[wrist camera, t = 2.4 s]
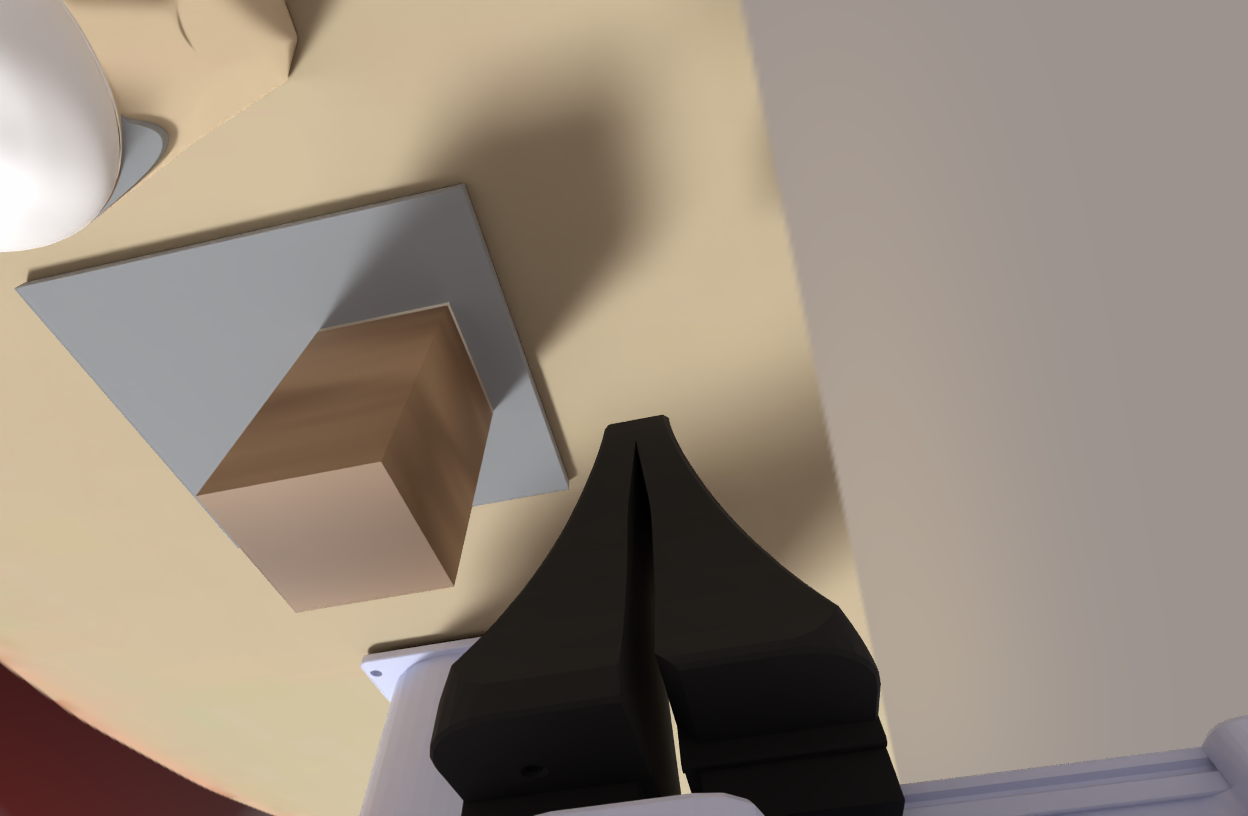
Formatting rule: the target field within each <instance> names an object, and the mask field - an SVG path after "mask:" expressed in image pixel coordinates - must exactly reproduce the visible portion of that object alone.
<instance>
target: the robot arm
mask: <svg viewBox="0 0 1248 816" xmlns="http://www.w3.org/2000/svg"><path fill="white" fill-rule="evenodd" d="M361 668H362V669H363V671H364V672H365V673H366V674H367V675H368V677H369V678H370V679H371V680H372V681H373V683H374V684H375V685H376V686H377V687H378V689H379V690H380V691H381V692H382V693H383V695H384V696H385V697H386V698H387V699H388V701H389V702H390V706H389V709H388V713H387V717H386V720H385V724H384V728H383V731H382V735H381V738H380V742H379V746H378V749H377V753H376V757H375V760H374V764H373V768H372V771H371V775H370V778H369V782H368V786H367V789H366V793H365V797H364V800H363V804H362V808H361V811H360V815H359V816H1248V715H1245V716H1240V717H1236V718H1231V719H1228V720H1225V721H1223V722H1221V723H1219V724H1217V725H1216V726H1214V727H1213V728H1212V729H1211V730H1210V731H1209V732H1208V734H1207V735H1206V737H1205V740H1204V742H1203V745H1202V747H1194V748H1187V749H1179V750H1171V751H1163V752H1155V753H1147V754H1139V755H1131V756H1123V757H1116V758H1107V759H1100V760H1091V761H1084V762H1076V763H1068V764H1060V765H1052V766H1044V767H1037V768H1028V769H1021V770H1012V771H1005V772H996V773H989V774H981V775H973V776H965V777H957V778H949V779H941V780H934V781H925V782H917V783H910V784H901V785H900V784H899V781H898V779H897V776H896V773H895V770H894V768H893V765H892V762H891V760H890V757H889V754H888V751H887V749H886V747H887V739H886V735H885V732H884V730H883V727H882V724H881V722H880V719H879V716H878V711H879V698H880V686H881V682H880V676H879V671H878V669H877V666H876V664H875V662H874V660H873V658H872V656H871V654H870V652H869V651H868V649H867V647H866V645H865V644H864V642H863V640H862V639H861V637H860V636H859V634H858V633H857V631H856V630H855V628H854V627H853V625H852V624H851V622H850V621H849V620H848V618H847V617H846V615H845V614H844V613H843V611H842V610H841V609H840V607H839V606H837V605H836V604H834V603H833V602H831V601H830V600H828V599H827V598H825V597H824V596H822V595H821V594H819V593H818V592H817V591H815V590H814V589H812V588H811V587H810V586H808V585H807V584H805V583H804V582H803V581H801V580H800V579H799V578H797V577H796V576H795V575H794V574H792V573H791V572H790V571H788V570H787V569H786V568H784V567H783V566H782V565H781V564H780V563H779V562H777V561H776V560H775V559H774V558H773V557H772V556H771V555H769V554H768V553H767V552H766V551H765V550H764V549H763V548H761V547H760V546H759V545H758V544H757V543H756V542H755V541H754V540H753V539H752V538H751V537H750V536H749V535H748V534H747V533H746V532H745V531H744V530H743V529H742V528H741V527H740V526H739V525H738V524H737V523H736V522H735V521H734V520H733V519H732V518H731V517H730V516H729V515H728V513H727V512H726V511H725V510H724V509H723V508H722V507H721V505H720V504H719V503H718V502H717V501H716V499H715V498H714V497H713V495H712V494H711V493H710V492H709V490H708V489H707V488H706V486H705V485H704V484H703V482H702V481H701V480H700V478H699V477H698V475H697V474H696V472H695V471H694V469H693V468H692V466H691V465H690V463H689V461H688V460H687V458H686V457H685V455H684V453H683V452H682V450H681V448H680V446H679V444H678V442H677V440H676V438H675V436H674V434H673V431H672V429H671V426H670V422H669V418H668V417H666V416H664V415H659V416H653V417H648V418H642V419H637V420H632V421H626V422H621V423H615V424H610V425H608V426H607V428H606V429H605V432H604V436H603V439H602V443H601V446H600V449H599V452H598V455H597V458H596V460H595V463H594V466H593V468H592V471H591V473H590V475H589V478H588V480H587V483H586V485H585V487H584V490H583V492H582V494H581V496H580V498H579V500H578V502H577V504H576V506H575V508H574V510H573V512H572V514H571V516H570V518H569V520H568V522H567V524H566V526H565V527H564V529H563V531H562V533H561V535H560V536H559V538H558V540H557V541H556V543H555V544H554V546H553V548H552V549H551V551H550V552H549V554H548V555H547V557H546V558H545V560H544V561H543V563H542V564H541V566H540V567H539V568H538V570H537V571H536V573H535V574H534V576H533V577H532V578H531V580H530V581H529V582H528V584H527V585H526V586H525V588H524V589H523V590H522V591H521V593H520V594H519V595H518V596H517V597H516V599H515V600H514V601H513V602H512V603H511V604H510V606H509V607H508V608H507V609H506V610H505V612H504V613H503V614H502V615H501V616H500V617H499V619H498V620H497V621H496V622H495V623H494V624H493V625H492V626H491V627H490V629H489V630H488V631H487V632H486V633H485V634H484V635H483V636H482V637H476V638H470V639H463V640H457V641H450V642H444V643H438V644H431V645H425V646H419V647H412V648H406V649H400V650H393V651H387V652H381V653H374V654H369V655H366V656H364V657H363V659H362V662H361ZM668 698H669V699H668ZM669 702H670V705H671V708H672V711H673V714H674V718H675V721H676V724H677V729H678V739H679V748H680V758H681V766H682V771H683V773H685V774H686V777H687V780H688V783H689V787H690V790H691V793H690V794H683V795H681V790H680V782H679V775H678V768H677V760H676V753H675V745H674V738H673V730H672V723H671V715H670V707H669Z"/></svg>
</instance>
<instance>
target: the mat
mask: <svg viewBox="0 0 1248 816" xmlns="http://www.w3.org/2000/svg"><path fill="white" fill-rule="evenodd" d="M14 289H15V290H16V291H17V293H18V294H19V295H20V296H21V297H22V298H23V300H24V301H25V302H26V303H27V304H28V305H29V306H30V308H31V309H32V310H33V311H34V312H35V313H36V315H37V316H38V317H39V318H40V319H41V320H42V322H43V323H44V324H45V325H46V326H47V327H48V328H49V330H50V331H51V332H52V333H53V334H54V335H55V337H56V338H57V339H58V340H59V341H60V342H61V344H62V345H63V346H64V347H65V348H66V349H67V350H68V352H69V353H70V354H71V355H72V356H73V357H74V359H75V360H76V361H77V362H78V363H79V364H80V366H81V367H82V368H83V369H84V370H85V371H86V372H87V374H88V375H89V376H90V377H91V378H92V379H93V381H94V382H95V383H96V384H97V385H98V386H99V388H100V389H101V390H102V391H103V392H104V393H105V394H106V396H107V397H108V398H109V399H110V400H111V401H112V403H113V404H114V405H115V406H116V407H117V408H118V409H119V411H120V412H121V413H122V414H123V415H124V416H125V418H126V419H127V420H128V421H129V422H130V423H131V425H132V426H133V427H134V428H135V429H136V430H137V431H138V433H139V434H140V435H141V436H142V437H143V438H144V440H145V441H146V442H147V443H148V444H149V445H150V447H151V448H152V449H153V450H154V451H155V452H156V453H157V455H158V456H159V457H160V458H161V459H162V460H163V462H164V463H165V464H166V465H167V466H168V467H169V469H170V470H171V471H172V472H173V473H174V474H175V475H176V477H177V478H178V479H179V480H180V481H181V482H182V484H183V485H184V486H185V487H186V488H187V489H188V491H189V492H190V493H191V494H192V495H193V496H194V497H195V499H196V500H197V501H198V502H199V503H200V504H201V506H202V507H203V508H204V509H205V510H206V511H207V512H208V514H209V515H210V516H211V517H212V518H213V519H214V521H215V522H216V523H217V524H218V525H219V526H220V528H221V529H222V530H223V531H224V532H225V533H226V534H227V536H228V537H229V538H230V539H231V540H232V541H233V543H234V544H235V545H236V546H237V547H238V548H240V547H239V546H238V545H237V544H236V543H235V541H234V540H233V539H232V538H231V537H230V536H229V534H228V533H227V532H226V531H225V530H224V529H223V528H222V526H221V525H220V524H219V523H218V522H217V521H216V519H215V518H214V517H213V516H212V515H211V514H210V512H209V511H208V510H207V509H206V508H205V507H204V505H203V504H202V503H201V502H200V501H199V500H198V498H197V497H196V495H197V493H198V492H199V491H200V489H201V488H202V487H203V485H204V484H205V483H206V481H207V480H208V479H209V477H210V476H211V475H212V473H213V472H214V471H215V469H216V468H217V467H218V465H219V464H220V462H221V461H222V460H223V458H224V457H225V456H226V454H227V453H228V452H229V450H230V449H231V448H232V446H233V445H234V444H235V442H236V441H237V440H238V438H239V437H240V436H241V434H242V433H243V432H244V430H245V429H246V427H247V426H248V425H249V423H250V422H251V421H252V419H253V418H254V417H255V415H256V414H257V413H258V411H259V410H260V409H261V407H262V406H263V405H264V403H265V402H266V401H267V399H268V398H269V397H270V395H271V394H272V392H273V391H274V390H275V388H276V387H277V386H278V384H279V383H280V382H281V380H282V379H283V378H284V376H285V375H286V374H287V372H288V371H289V370H290V368H291V367H292V366H293V364H294V363H295V362H296V360H297V359H298V357H299V356H300V355H301V353H302V352H303V351H304V349H305V348H306V347H307V345H308V344H309V343H310V341H311V340H312V339H313V337H314V336H315V335H316V333H317V332H318V331H319V329H323V328H327V327H332V326H337V325H342V324H347V323H351V322H356V321H361V320H366V319H371V318H375V317H380V316H385V315H390V314H395V313H399V312H404V311H409V310H414V309H419V308H423V307H428V306H433V305H438V304H443V303H447V302H449V304H450V306H451V309H452V311H453V314H454V316H455V318H456V321H457V323H458V326H459V328H460V330H461V333H462V335H463V338H464V340H465V343H466V345H467V347H468V350H469V352H470V355H471V357H472V360H473V362H474V364H475V367H476V369H477V372H478V374H479V377H480V379H481V381H482V384H483V386H484V389H485V391H486V393H487V396H488V398H489V401H490V403H491V406H492V408H493V410H494V411H493V415H492V420H491V424H490V429H489V433H488V438H487V442H486V446H485V451H484V455H483V460H482V464H481V469H480V473H479V478H478V482H477V486H476V491H475V495H474V500H473V504H472V507H473V506H478V505H484V504H489V503H495V502H501V501H506V500H512V499H518V498H523V497H529V496H535V495H540V494H546V493H552V492H557V491H563V490H569V480H568V477H567V474H566V471H565V468H564V465H563V463H562V460H561V457H560V454H559V451H558V448H557V446H556V443H555V440H554V437H553V434H552V431H551V428H550V426H549V423H548V420H547V417H546V414H545V411H544V409H543V406H542V403H541V400H540V397H539V394H538V392H537V389H536V386H535V383H534V380H533V377H532V374H531V372H530V369H529V366H528V363H527V360H526V357H525V355H524V352H523V349H522V346H521V343H520V340H519V337H518V335H517V332H516V329H515V326H514V323H513V320H512V318H511V315H510V312H509V309H508V306H507V303H506V300H505V298H504V295H503V292H502V289H501V286H500V283H499V281H498V278H497V275H496V272H495V269H494V266H493V264H492V261H491V258H490V255H489V252H488V249H487V246H486V244H485V241H484V238H483V235H482V232H481V229H480V227H479V224H478V221H477V218H476V215H475V212H474V209H473V207H472V204H471V201H470V198H469V195H468V192H467V190H466V187H465V184H459V185H455V186H450V187H446V188H441V189H437V190H433V191H428V192H424V193H419V194H415V195H410V196H406V197H402V198H397V199H393V200H388V201H384V202H379V203H375V204H371V205H366V206H362V207H357V208H353V209H348V210H344V211H340V212H335V213H331V214H326V215H322V216H317V217H313V218H309V219H304V220H300V221H295V222H291V223H286V224H282V225H278V226H273V227H269V228H264V229H260V230H255V231H251V232H247V233H242V234H238V235H233V236H229V237H224V238H220V239H216V240H211V241H207V242H202V243H198V244H193V245H189V246H185V247H180V248H176V249H171V250H167V251H162V252H158V253H154V254H149V255H145V256H140V257H136V258H131V259H127V260H123V261H118V262H114V263H109V264H105V265H100V266H96V267H91V268H87V269H83V270H78V271H74V272H69V273H65V274H60V275H56V276H52V277H47V278H43V279H38V280H34V281H29V282H25V283H23V284H21V285H20V286H18V287H16V288H14Z"/></svg>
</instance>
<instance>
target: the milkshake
mask: <svg viewBox="0 0 1248 816" xmlns="http://www.w3.org/2000/svg"><path fill="white" fill-rule="evenodd" d="M297 39H298V37H297V34H296V32H295V29H294V26H293V23H292V20H291V17H290V14H289V12H288V9H287V6H286V3H285V0H0V252H12V251H23V250H29V249H35V248H39V247H43V246H47V245H50V244H53V243H56V242H59V241H61V240H63V239H66V238H68V237H70V236H72V235H73V234H75V233H77V232H78V231H80V230H81V229H83V228H84V227H85V226H87V225H88V224H89V223H91V222H92V221H94V220H95V219H96V218H98V217H99V216H100V215H102V214H103V213H104V212H106V211H107V210H108V209H109V208H111V207H112V206H113V205H115V204H116V203H117V202H119V201H120V200H121V199H123V198H124V197H125V196H126V195H128V194H129V193H130V192H132V191H133V190H134V189H136V188H137V187H138V186H140V185H141V184H142V183H143V182H145V181H146V180H147V179H149V178H150V177H151V176H153V175H154V174H155V173H156V172H158V171H159V170H160V169H162V168H163V167H164V166H165V165H167V164H168V163H169V162H170V161H172V160H173V159H174V158H175V157H177V156H178V155H179V154H180V153H182V152H183V151H184V150H186V149H187V148H188V147H189V146H191V145H192V144H193V143H195V142H196V141H198V140H199V139H200V138H202V137H203V136H205V135H206V134H208V133H209V132H211V131H212V130H214V129H215V128H217V127H218V126H220V125H221V124H223V123H224V122H226V121H227V120H229V119H230V118H232V117H233V116H235V115H236V114H238V113H239V112H241V111H242V110H244V109H245V108H247V107H249V106H250V105H252V104H253V103H255V102H256V101H258V100H259V99H261V98H262V97H264V96H265V95H267V94H268V93H270V92H271V91H273V90H274V89H276V88H277V87H279V86H280V85H282V84H283V83H285V82H286V81H287V78H288V74H289V70H290V66H291V62H292V58H293V54H294V50H295V46H296V43H297Z"/></svg>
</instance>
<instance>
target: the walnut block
mask: <svg viewBox="0 0 1248 816" xmlns="http://www.w3.org/2000/svg"><path fill="white" fill-rule="evenodd" d="M493 411H494V410H493V408H492V406H491V403H490V401H489V398H488V396H487V393H486V391H485V389H484V386H483V384H482V381H481V379H480V377H479V374H478V372H477V369H476V367H475V364H474V362H473V360H472V357H471V355H470V352H469V350H468V347H467V345H466V343H465V340H464V338H463V335H462V333H461V330H460V328H459V326H458V323H457V321H456V318H455V316H454V314H453V311H452V309H451V306H450V304H449V302H447V303H443V304H438V305H433V306H428V307H423V308H419V309H414V310H409V311H404V312H399V313H395V314H390V315H385V316H380V317H375V318H371V319H366V320H361V321H356V322H351V323H347V324H342V325H337V326H332V327H327V328H323V329H319V331H318V332H317V333H316V335H315V336H314V337H313V339H312V340H311V341H310V343H309V344H308V345H307V347H306V348H305V349H304V351H303V352H302V353H301V355H300V356H299V357H298V359H297V360H296V362H295V363H294V364H293V366H292V367H291V368H290V370H289V371H288V372H287V374H286V375H285V376H284V378H283V379H282V380H281V382H280V383H279V384H278V386H277V387H276V388H275V390H274V391H273V392H272V394H271V395H270V397H269V398H268V399H267V401H266V402H265V403H264V405H263V406H262V407H261V409H260V410H259V411H258V413H257V414H256V415H255V417H254V418H253V419H252V421H251V422H250V423H249V425H248V426H247V427H246V429H245V430H244V432H243V433H242V434H241V436H240V437H239V438H238V440H237V441H236V442H235V444H234V445H233V446H232V448H231V449H230V450H229V452H228V453H227V454H226V456H225V457H224V458H223V460H222V461H221V462H220V464H219V465H218V467H217V468H216V469H215V471H214V472H213V473H212V475H211V476H210V477H209V479H208V480H207V481H206V483H205V484H204V485H203V487H202V488H201V489H200V491H199V492H198V493H197V495H196V497H197V498H198V500H199V501H200V502H201V503H202V504H203V505H204V507H205V508H206V509H207V510H208V511H209V512H210V514H211V515H212V516H213V517H214V518H215V519H216V521H217V522H218V523H219V524H220V525H221V526H222V528H223V529H224V530H225V531H226V532H227V533H228V534H229V536H230V537H231V538H232V539H233V540H234V541H235V543H236V544H237V545H238V546H239V547H240V548H241V550H242V551H243V552H244V553H245V554H246V555H247V557H248V558H249V559H250V560H251V561H252V562H253V564H254V565H255V566H256V567H257V568H258V569H259V570H260V572H261V573H262V574H263V575H264V576H265V577H266V579H267V580H268V581H269V582H270V583H271V584H272V586H273V587H274V588H275V589H276V590H277V591H278V593H279V594H280V595H281V596H282V597H283V598H284V600H285V601H286V602H287V603H288V604H289V605H290V606H291V608H292V609H293V610H294V611H295V612H296V613H297V612H303V611H309V610H315V609H321V608H327V607H333V606H339V605H345V604H351V603H357V602H364V601H370V600H376V599H382V598H388V597H394V596H400V595H406V594H412V593H418V592H424V591H430V590H436V589H442V588H448V587H454V584H455V580H456V575H457V571H458V567H459V562H460V558H461V553H462V549H463V544H464V540H465V535H466V531H467V526H468V522H469V518H470V513H471V509H472V504H473V500H474V495H475V491H476V486H477V482H478V478H479V473H480V469H481V464H482V460H483V455H484V451H485V446H486V442H487V438H488V433H489V429H490V424H491V420H492V415H493Z"/></svg>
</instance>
